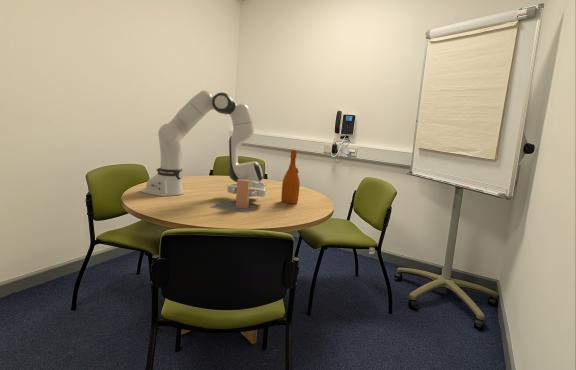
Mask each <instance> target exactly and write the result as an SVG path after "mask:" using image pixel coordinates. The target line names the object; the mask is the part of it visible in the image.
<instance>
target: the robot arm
mask: <svg viewBox="0 0 576 370" xmlns="http://www.w3.org/2000/svg"><path fill="white" fill-rule="evenodd" d="M212 110H214V111H216V112H217V113H218V114H220V115H228V116H229V117H230V118H231V121H232V127H233V131H232V135H230V136H229V140H228V141H229V142H228V146H229V147H228V149H229V150H228V151H229V153H228V154H229V167H228V176H229V178H230V179H231V180H232V181H233V182H235V183H232V184H231V183H230V184H229V185H227V189H226V191H227V193H231V194H235V195H236V193H237V180H238V179H241V180H250V191H249V198H251V197H262V198H264V197H266V194H267V193H266V192H267V184H265V181H264V179H263V178H264V169H263V167H262V165H261V163H259V162H258V161H256V160H255V161H248V162H242V163H239V151H238V150H239V147H240V146H241V145H242V144H243V143H245V142H247V141H248V140H250V139H251V138H252V137H253V134H254V131H255V130H254V129H255V127H254V122H253V118H252V113H251V111H250V108H249V106H248V105H247V104H245V103H236V102H235V100H234V99H233V97H232V96H231V95H230V94H228V93H225V92H221V91H220V92H218V93H216V94H214V95H213V94H212V93H211V92H210V91H208V90H201V91H200V92H199V93H197V94H195V95H194V96H192V98H190V99H189V101H188V102H186V103H185V104H184V106H182V108H180V110H179V111H177V113H176V115H174V117H173V118H172V119H171V120H170V121H169V122H168V123H164V124H162V125H161V126H160V128H159V129H158V134H157V135H158V142H159V144H158V145H159V149H160V167H159V168H156V169H155V172H157V173H156V174H155V175H154V176H153V177H151V178H149V179H148V180H147V182H146V185H145V188H142V189H141V193H144V194H149V195H154V196H158V197H167V196H170V197H171V196H172V197H173V196H180V195H183V194H184V193H185V191H184V188H183V183H182V180H183V168H182V161H183V159H182V157H183V156H182V155H183V154H182V146H181V141H182V140H183V139H184V138H185V137H186V135H188V134H189V133H190V131H192V129H193V128H194V127H195V126H196V125H197V124H198V123H199V122H200V121H201V120H202V119H203V118H204V117H205V116H206V114H208V113H209V112H211V111H212Z"/></svg>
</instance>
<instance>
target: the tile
mask: <svg viewBox="0 0 576 370" xmlns="http://www.w3.org/2000/svg"><path fill="white" fill-rule="evenodd" d="M236 184H237V193H235V195H236V197H235V203H236V207H240V208H248V206H249V205H250V204H249V201H250V197H249V191H250V180H241V179H238V180H237V182H236Z"/></svg>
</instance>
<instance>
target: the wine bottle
mask: <svg viewBox="0 0 576 370" xmlns="http://www.w3.org/2000/svg"><path fill="white" fill-rule="evenodd" d="M297 154H298V151H297V150H296V149H291V150H290V156H289V158H290V161H289V162H290V163H289V164H288V165H289V166H288V169H287V171H286V173H285V174H284V176H283V179H282V182H281V183H282V184H281V197H280V198H281V199H280V200H281V202H282V203H283V204H287V205H295V204H298V201H299V196H300V195H299V194H300V185H301V183H300V182H301V181H300V177H299V173H300V172H299V169H298V167H297V165H296V160H297Z"/></svg>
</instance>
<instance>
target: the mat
mask: <svg viewBox="0 0 576 370" xmlns="http://www.w3.org/2000/svg"><path fill="white" fill-rule="evenodd" d="M256 207H257V205H254V204H249V206H248V208H240V207H236V202H232V201H223V200H220V201H218V202H216V203H215V204H213V205H211V206H210V207H209V208H210V209H215V210H216V209H218V210H225V211H232V212H237V213H238V212H240V213H245V214H246V213H247V214H249V213H250V212H252V210H254V209H255V208H256Z"/></svg>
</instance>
